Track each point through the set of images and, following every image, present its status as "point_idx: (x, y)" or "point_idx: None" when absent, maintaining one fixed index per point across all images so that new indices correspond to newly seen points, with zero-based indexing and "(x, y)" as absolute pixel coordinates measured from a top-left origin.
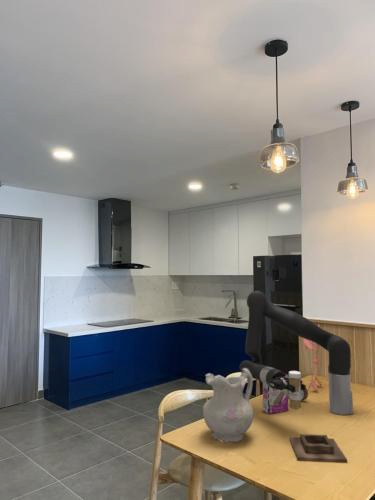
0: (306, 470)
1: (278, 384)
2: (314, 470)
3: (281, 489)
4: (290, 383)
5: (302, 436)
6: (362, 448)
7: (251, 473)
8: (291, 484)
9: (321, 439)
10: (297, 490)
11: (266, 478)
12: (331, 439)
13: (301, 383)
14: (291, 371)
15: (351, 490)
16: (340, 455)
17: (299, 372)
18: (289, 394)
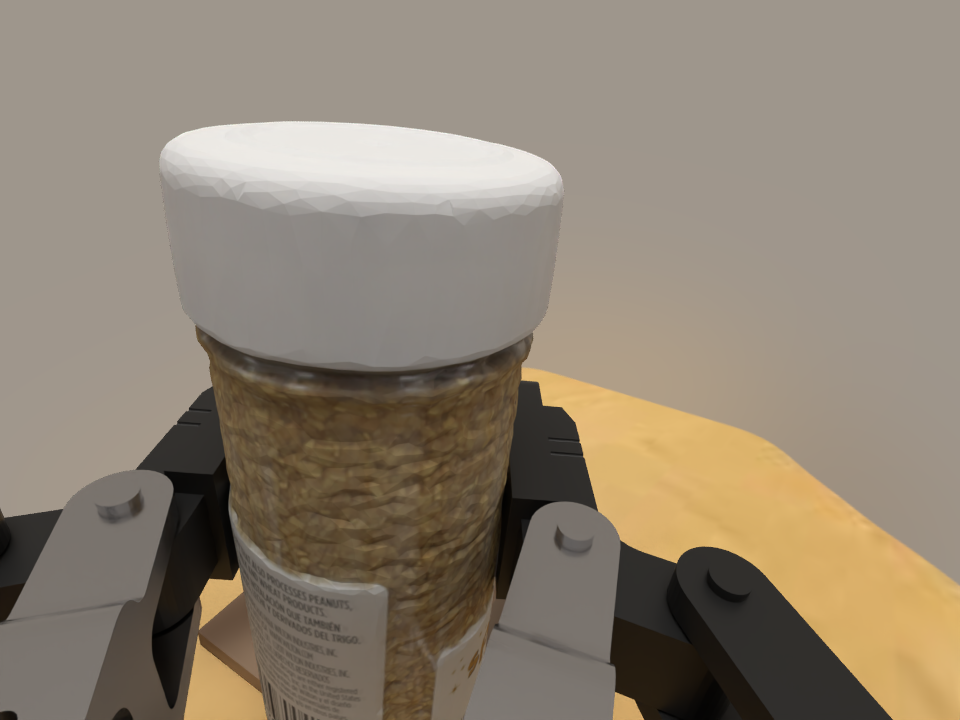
0: (627, 496)
1: (814, 669)
2: (591, 483)
3: (783, 461)
4: (510, 441)
5: (486, 642)
6: None
7: (918, 581)
8: (734, 464)
9: None
10: (724, 439)
11: (837, 525)
12: (226, 625)
13: (215, 414)
14: (412, 160)
15: (547, 385)
16: None
17: (282, 124)
18: (478, 666)
